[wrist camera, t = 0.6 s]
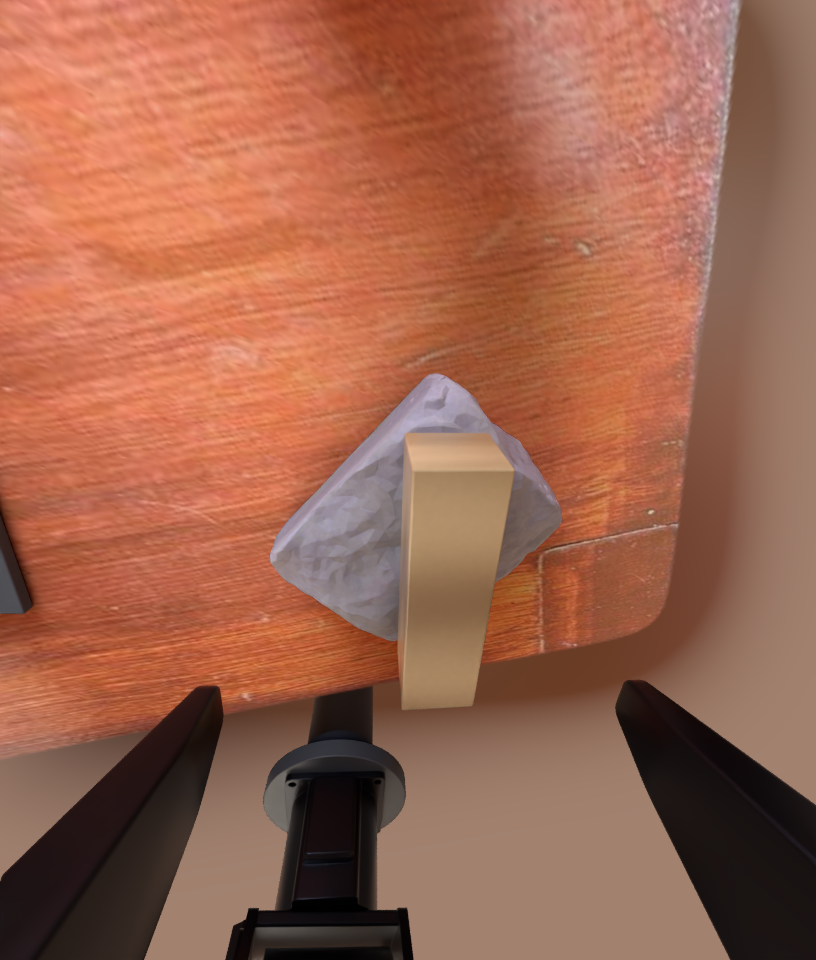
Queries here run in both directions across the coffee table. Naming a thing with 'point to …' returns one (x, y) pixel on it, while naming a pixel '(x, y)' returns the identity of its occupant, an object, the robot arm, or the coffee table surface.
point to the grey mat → (11, 579)
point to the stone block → (397, 511)
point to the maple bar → (448, 562)
